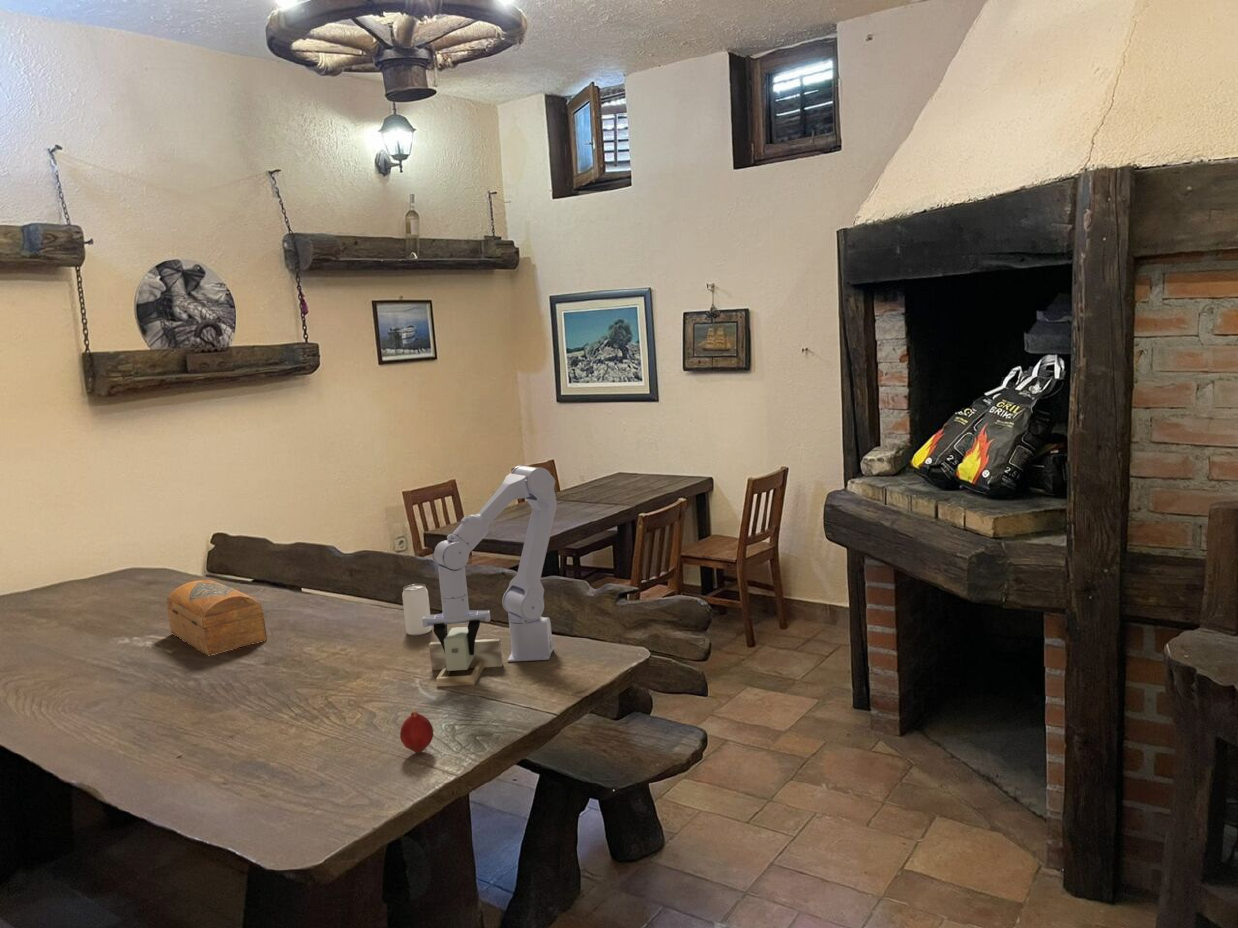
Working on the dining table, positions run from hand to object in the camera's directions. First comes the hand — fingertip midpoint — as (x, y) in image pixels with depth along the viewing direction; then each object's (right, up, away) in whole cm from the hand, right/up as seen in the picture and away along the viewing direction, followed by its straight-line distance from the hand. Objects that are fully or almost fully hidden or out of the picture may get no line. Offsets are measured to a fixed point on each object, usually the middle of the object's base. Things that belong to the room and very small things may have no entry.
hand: (460, 654), depth 199 cm
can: (-17, -1, +34) cm, 38 cm away
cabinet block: (0, -2, 0) cm, 2 cm away
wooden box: (-72, -5, +42) cm, 83 cm away
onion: (-1, -10, -37) cm, 38 cm away
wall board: (0, -5, +1) cm, 5 cm away
